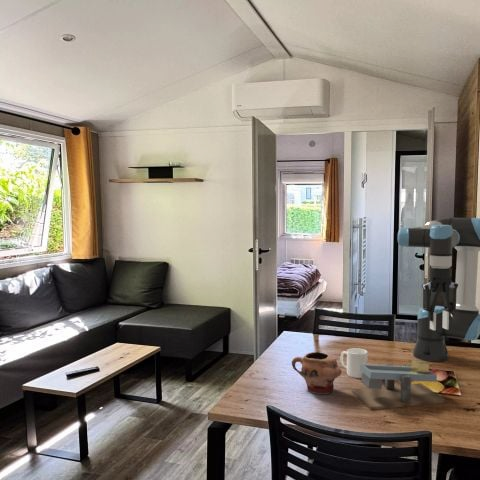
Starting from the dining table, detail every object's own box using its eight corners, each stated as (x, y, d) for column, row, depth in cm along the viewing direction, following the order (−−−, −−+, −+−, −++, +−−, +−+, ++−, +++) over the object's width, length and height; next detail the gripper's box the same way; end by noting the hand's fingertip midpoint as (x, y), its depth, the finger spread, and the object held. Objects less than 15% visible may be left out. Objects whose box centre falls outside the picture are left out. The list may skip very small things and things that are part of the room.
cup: (361, 379, 194) (361, 355, 193) (335, 373, 202) (335, 349, 202) (370, 374, 200) (370, 350, 200) (345, 367, 208) (345, 345, 208)
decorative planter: (286, 391, 184) (285, 356, 182) (296, 380, 195) (295, 347, 193) (337, 400, 175) (337, 362, 174) (345, 388, 186) (345, 353, 185)
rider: (421, 372, 180) (422, 360, 180) (427, 376, 176) (429, 364, 176) (410, 371, 180) (411, 359, 179) (416, 375, 175) (418, 363, 175)
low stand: (421, 385, 187) (421, 360, 187) (445, 402, 172) (446, 375, 171) (351, 391, 182) (351, 366, 181) (370, 409, 167) (370, 381, 166)
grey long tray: (420, 383, 184) (423, 367, 183) (435, 392, 174) (437, 375, 174) (358, 380, 179) (360, 363, 178) (369, 390, 169) (371, 372, 169)
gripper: (455, 264, 181) (454, 325, 183) (413, 266, 178) (412, 327, 180) (468, 267, 174) (466, 330, 176) (424, 269, 171) (423, 333, 173)
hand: (439, 328), depth 178 cm, fingers open, 4 cm apart
